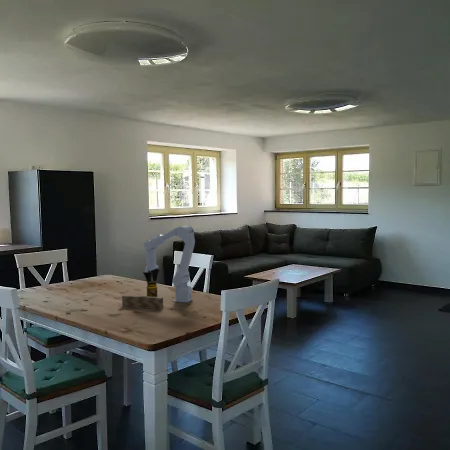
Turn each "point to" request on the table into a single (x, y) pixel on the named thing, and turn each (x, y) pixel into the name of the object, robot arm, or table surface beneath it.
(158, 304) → the board
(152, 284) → the condiment
